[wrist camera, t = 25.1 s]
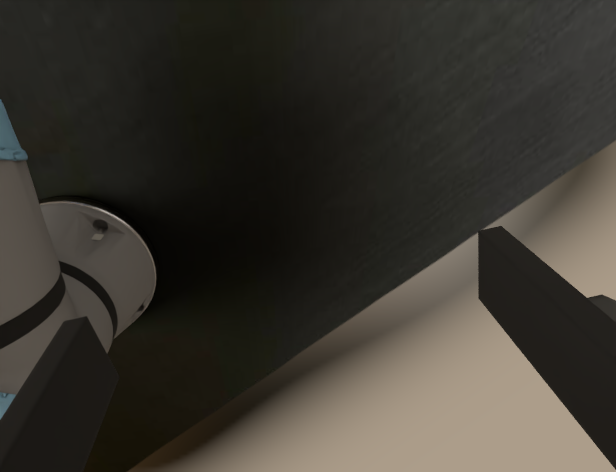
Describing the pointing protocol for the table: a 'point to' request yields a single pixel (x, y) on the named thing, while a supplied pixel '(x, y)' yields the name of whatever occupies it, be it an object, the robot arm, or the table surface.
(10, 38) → the table surface
